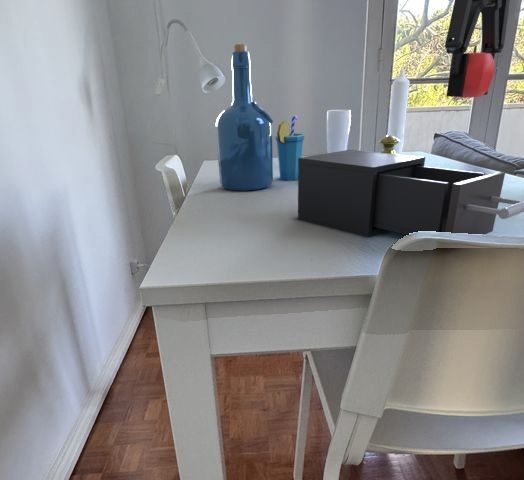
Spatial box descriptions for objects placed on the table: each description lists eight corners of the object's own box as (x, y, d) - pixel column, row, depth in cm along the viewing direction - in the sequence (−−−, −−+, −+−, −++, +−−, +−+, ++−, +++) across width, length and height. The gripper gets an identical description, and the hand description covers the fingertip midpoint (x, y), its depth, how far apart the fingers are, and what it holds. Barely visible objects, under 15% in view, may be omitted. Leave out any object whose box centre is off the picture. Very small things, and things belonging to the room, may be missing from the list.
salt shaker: (406, 177, 122) (411, 135, 117) (386, 181, 118) (390, 138, 114) (384, 174, 127) (388, 133, 122) (365, 177, 124) (368, 136, 119)
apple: (457, 98, 83) (466, 44, 79) (436, 97, 90) (443, 47, 86) (499, 96, 84) (510, 43, 80) (475, 95, 90) (484, 46, 86)
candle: (404, 164, 141) (414, 66, 129) (406, 167, 135) (417, 66, 123) (379, 164, 142) (388, 68, 130) (380, 167, 136) (389, 67, 124)
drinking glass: (350, 167, 139) (353, 110, 131) (327, 168, 138) (329, 111, 131) (344, 163, 145) (347, 109, 137) (323, 164, 144) (324, 110, 137)
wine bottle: (218, 192, 112) (207, 43, 97) (221, 182, 124) (212, 47, 109) (275, 190, 112) (273, 41, 97) (273, 180, 124) (271, 45, 109)
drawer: (533, 239, 71) (549, 177, 66) (491, 258, 64) (506, 191, 59) (409, 214, 85) (415, 162, 81) (364, 228, 78) (368, 172, 74)
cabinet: (417, 220, 85) (425, 157, 80) (368, 236, 78) (374, 167, 72) (346, 206, 96) (349, 149, 91) (297, 218, 89) (298, 157, 84)
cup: (283, 173, 133) (282, 114, 126) (309, 173, 131) (311, 113, 124) (269, 182, 122) (268, 118, 114) (298, 183, 120) (299, 117, 112)
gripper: (504, -54, 83) (478, 93, 94) (436, -71, 72) (415, 97, 84) (548, -63, 78) (515, 93, 89) (482, -84, 67) (453, 98, 78)
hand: (467, 95), depth 86 cm, fingers closed on apple, 8 cm apart
